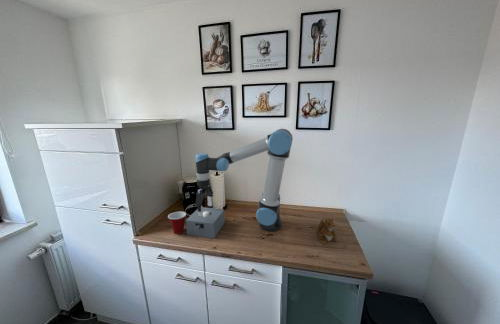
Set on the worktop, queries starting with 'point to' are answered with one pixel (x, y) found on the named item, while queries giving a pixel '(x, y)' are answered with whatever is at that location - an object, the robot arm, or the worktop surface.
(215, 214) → the socket block
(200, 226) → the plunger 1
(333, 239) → the stuffed squirrel
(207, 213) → the peg
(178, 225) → the plastic cup
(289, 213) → the worktop surface
